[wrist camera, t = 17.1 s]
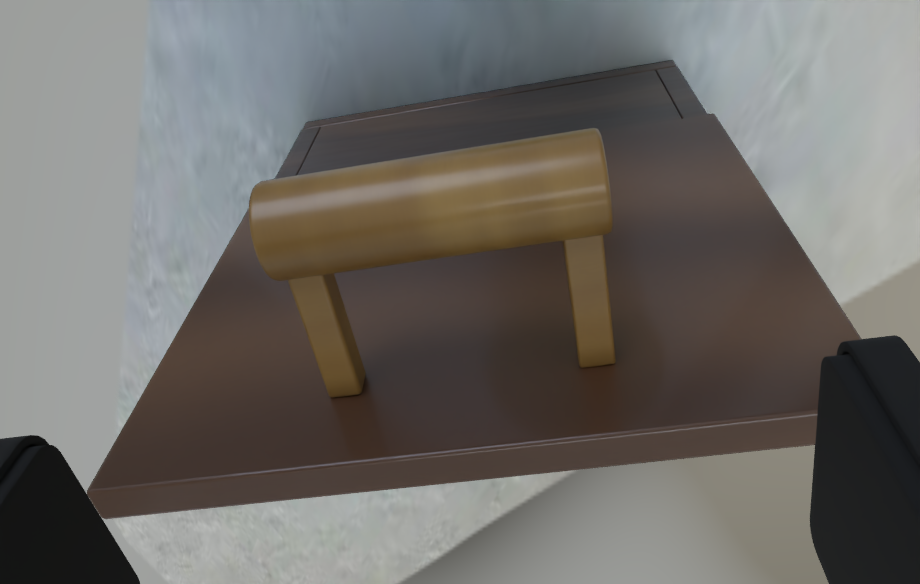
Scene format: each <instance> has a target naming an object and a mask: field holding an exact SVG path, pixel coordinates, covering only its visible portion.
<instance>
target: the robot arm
mask: <svg viewBox="0 0 920 584" xmlns="http://www.w3.org/2000/svg"><path fill="white" fill-rule="evenodd" d="M810 527H811V534H812V539H813V543H814V547H815V550H816V553H817V555H818V558H819V560H820V562H821V565H822V568H823V570H824V572H825V575H826V577H827V580H828V582H829V584H920V362H919V361H918V359H917V358H916V357H915V355H914V354H913V353H912V351H911V350H910V348H909V347H908V346H907V344H906V343H905V342H904V341H903V340H902V339H901V338H900V337H898V336H886V337H878V338H869V339H860V340H852V341H844V342H842V343H840V345H839V347H838V350H837V355H836V356H827V357H824V358H823V360H822V363H821V372H820V386H819V400H818V413H817V427H816V441H815V455H814V469H813V483H812V497H811V511H810ZM0 584H140V581H139V579H138V577H137V575H136V573H135V572H134V570H133V568H132V567H131V565H130V563H129V562H128V560H127V559H126V557H125V556H124V554H123V552H122V551H121V549H120V547H119V546H118V544H117V543H116V541H115V539H114V538H113V536H112V535H111V533H110V531H109V530H108V528H107V526H106V525H105V523H104V521H103V520H102V518H101V517H100V515H99V513H98V512H97V510H96V509H95V507H94V505H93V504H92V502H91V500H90V499H89V497H88V496H87V494H86V493H85V491H84V489H83V488H82V486H81V485H80V483H79V481H78V480H77V478H76V476H75V475H74V473H73V471H72V470H71V468H70V467H69V465H68V463H67V462H66V460H65V459H64V457H63V455H62V454H61V452H60V451H59V450H58V449H57V448H56V447H54V446H52V445H49V444H48V443H47V442H46V440H45V439H43V438H41V437H39V436H32V435H30V436H21V437H13V438H5V439H0Z"/></svg>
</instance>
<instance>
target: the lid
mask: <svg viewBox="0 0 920 584" xmlns="http://www.w3.org/2000/svg"><path fill="white" fill-rule="evenodd" d="M860 339H861V338H860V336H859V334H858V333H857V331H856V330H855V328H854V327H853V325H852V324H851V322H850V321H849V319H848V318H847V316H846V314H845V313H844V312H843V310H842V308H841V307H840V305H839V304H838V302H837V301H836V299H835V298H834V296H833V295H832V293H831V292H830V290H829V288H828V287H827V285H826V284H825V282H824V281H823V279H822V278H821V276H820V275H819V273H818V272H817V270H816V269H815V267H814V266H813V264H812V262H811V261H810V259H809V258H808V256H807V255H806V253H805V252H804V250H803V249H802V247H801V246H800V244H799V243H798V241H797V240H796V238H795V236H794V235H793V233H792V232H791V230H790V229H789V227H788V226H787V224H786V223H785V221H784V220H783V218H782V217H781V215H780V214H779V212H778V210H777V209H776V207H775V206H774V204H773V203H772V201H771V200H770V198H769V197H768V195H767V194H766V192H765V191H764V189H763V188H762V186H761V184H760V183H759V181H758V180H757V178H756V177H755V175H754V174H753V172H752V171H751V169H750V168H749V166H748V165H747V163H746V162H745V160H744V158H743V157H742V155H741V154H740V152H739V151H738V149H737V148H736V146H735V145H734V143H733V142H732V140H731V139H730V137H729V136H728V134H727V132H726V131H725V129H724V128H723V126H722V125H721V123H720V122H719V120H718V119H717V117H716V116H715V114H708V115H701V116H695V117H689V118H683V119H676V120H670V121H664V122H658V123H651V124H645V125H639V126H633V127H626V128H620V129H614V130H608V131H601V132H599V130H598V129H596V128H589V129H583V130H577V131H570V132H564V133H558V134H552V135H546V136H539V137H533V138H527V139H521V140H514V141H508V142H502V143H496V144H489V145H483V146H477V147H471V148H465V149H458V150H452V151H446V152H440V153H433V154H427V155H421V156H415V157H409V158H402V159H396V160H390V161H384V162H377V163H371V164H365V165H359V166H353V167H346V168H340V169H334V170H328V171H321V172H315V173H309V174H303V175H297V176H290V177H284V178H278V179H272V180H265V181H261V182H259V183H258V184H256V185H255V187H254V188H253V190H252V193H251V196H250V203H249V209H248V211H247V212H246V214H245V216H244V218H243V219H242V221H241V223H240V225H239V226H238V228H237V230H236V231H235V233H234V235H233V237H232V238H231V240H230V242H229V244H228V245H227V247H226V249H225V251H224V252H223V254H222V256H221V258H220V259H219V261H218V263H217V265H216V266H215V268H214V270H213V272H212V273H211V275H210V277H209V279H208V280H207V282H206V284H205V286H204V287H203V289H202V291H201V293H200V294H199V296H198V298H197V300H196V301H195V303H194V305H193V307H192V308H191V310H190V312H189V314H188V315H187V317H186V319H185V321H184V322H183V324H182V326H181V327H180V329H179V331H178V333H177V334H176V336H175V338H174V340H173V341H172V343H171V345H170V347H169V348H168V350H167V352H166V354H165V355H164V357H163V359H162V361H161V362H160V364H159V366H158V368H157V369H156V371H155V373H154V375H153V376H152V378H151V380H150V382H149V383H148V385H147V387H146V389H145V390H144V392H143V394H142V396H141V397H140V399H139V401H138V403H137V404H136V406H135V408H134V410H133V411H132V413H131V415H130V417H129V418H128V420H127V422H126V423H125V425H124V427H123V429H122V430H121V432H120V434H119V436H118V437H117V439H116V441H115V443H114V444H113V446H112V448H111V450H110V451H109V453H108V455H107V457H106V458H105V460H104V462H103V464H102V465H101V467H100V469H99V471H98V472H97V474H96V476H95V478H94V479H93V481H92V483H91V485H90V486H89V488H88V490H87V495H88V497H89V498H90V500H91V502H92V503H93V505H94V506H95V508H96V510H97V511H98V513H99V514H100V516H101V517H102V518H104V519H111V518H121V517H130V516H140V515H149V514H159V513H168V512H178V511H187V510H197V509H207V508H216V507H226V506H235V505H245V504H254V503H264V502H273V501H283V500H293V499H302V498H312V497H321V496H331V495H340V494H350V493H359V492H369V491H379V490H388V489H398V488H407V487H417V486H426V485H436V484H445V483H455V482H465V481H474V480H484V479H493V478H503V477H512V476H522V475H531V474H541V473H551V472H560V471H570V470H579V469H589V468H598V467H608V466H617V465H627V464H636V463H646V462H655V461H665V460H675V459H684V458H694V457H703V456H712V455H723V454H732V453H741V452H751V451H760V450H770V449H780V448H788V447H798V446H809V445H815V441H816V427H817V413H818V400H819V386H820V372H821V363H822V360H823V358H824V357H827V356H836V355H837V350H838V347H839V345H840V343H842V342H844V341H852V340H860Z"/></svg>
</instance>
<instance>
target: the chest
mask: <svg viewBox="0 0 920 584" xmlns="http://www.w3.org/2000/svg"><path fill="white" fill-rule="evenodd" d="M701 115H708V114H707V113H706V111H705V109H704V108H703V106H702V105H701V103H700V102H699V100H698V98H697V97H696V95H695V94H694V92H693V90H692V89H691V87H690V86H689V84H688V83H687V81H686V79H685V78H684V76H683V75H682V73H681V71H680V70H679V68H678V67H677V66H676V64H675V63H674V61H672V60H671V61H665V62H659V63H653V64H647V65H641V66H635V67H629V68H624V69H618V70H612V71H606V72H600V73H594V74H588V75H582V76H576V77H571V78H565V79H559V80H553V81H547V82H541V83H535V84H529V85H523V86H517V87H512V88H506V89H500V90H494V91H488V92H482V93H476V94H470V95H464V96H458V97H453V98H447V99H441V100H435V101H429V102H423V103H417V104H411V105H405V106H400V107H394V108H388V109H382V110H376V111H370V112H364V113H358V114H352V115H346V116H341V117H335V118H329V119H323V120H317V121H311V122H307V123H306V124H305V126H304V127H303V129H302V130H301V132H300V134H299V136H298V138H297V139H296V141H295V143H294V145H293V147H292V148H291V150H290V152H289V154H288V156H287V158H286V159H285V161H284V163H283V165H282V167H281V168H280V170H279V172H278V174H277V176H276V178H275V179H278V178H284V177H290V176H297V175H303V174H309V173H315V172H321V171H328V170H334V169H340V168H346V167H353V166H359V165H365V164H371V163H377V162H384V161H390V160H396V159H402V158H409V157H415V156H421V155H427V154H433V153H440V152H446V151H452V150H458V149H465V148H471V147H477V146H483V145H489V144H496V143H502V142H508V141H514V140H521V139H527V138H533V137H539V136H546V135H552V134H558V133H564V132H570V131H577V130H583V129H589V128H596V129H598V130H599V132H601V131H608V130H614V129H620V128H626V127H633V126H639V125H645V124H651V123H658V122H664V121H670V120H676V119H683V118H689V117H695V116H701Z"/></svg>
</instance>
